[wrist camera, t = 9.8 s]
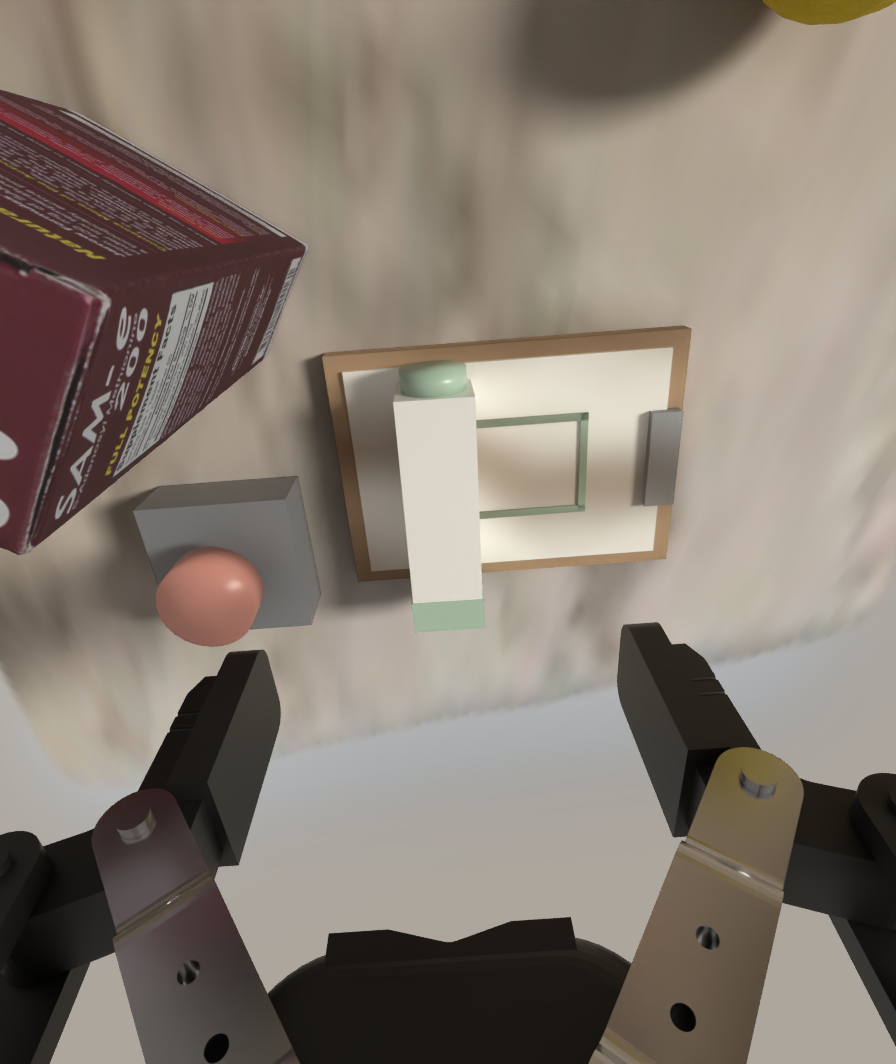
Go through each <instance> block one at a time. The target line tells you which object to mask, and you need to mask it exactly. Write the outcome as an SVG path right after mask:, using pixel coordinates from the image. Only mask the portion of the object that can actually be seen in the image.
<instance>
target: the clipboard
mask: <svg viewBox="0 0 896 1064" xmlns="http://www.w3.org/2000/svg"><path fill="white" fill-rule="evenodd" d="M691 330H692V329H691V328H689V327H686V326H672V327H659V328H646V329H633V330H620V331H606V332H593V333H580V334H567V335H554V336H541V337H528V338H515V339H502V340H488V341H475V342H462V343H449V344H436V345H423V346H410V347H397V348H383V349H370V350H357V351H344V352H331V353H325V354H324V355H323V356H322V360H323V366H324V373H325V379H326V385H327V391H328V397H329V404H330V410H331V416H332V422H333V428H334V435H335V441H336V447H337V453H338V459H339V466H340V472H341V478H342V484H343V490H344V497H345V503H346V509H347V515H348V521H349V528H350V534H351V540H352V546H353V552H354V559H355V565H356V571H357V577H358V582H360V581H373V580H387V579H401V578H411V577H410V567H409V557H408V546H407V536H406V526H405V516H404V506H403V496H402V486H401V476H400V466H399V456H398V446H397V436H396V426H395V416H394V406H393V400H394V395H395V391H396V386H397V383H400V378H399V368H400V367H402V366H404V365H407V364H411V363H416V362H422V361H433V360H451V361H459V362H463V363H465V364H466V374H467V379H470V380H471V383H472V387H473V390H474V394H475V403H476V431H477V459H478V486H479V514H480V542H481V569H482V572H495V571H509V570H522V569H536V568H550V567H563V566H577V565H590V564H604V563H617V562H631V561H644V560H658V559H666V553H667V544H668V535H669V526H670V518H671V509H672V504H673V501H674V492H675V483H676V474H677V465H678V456H679V448H680V439H681V430H682V421H683V412H684V411H682V410H683V401H684V392H685V383H686V374H687V365H688V356H689V348H690V339H691Z"/></svg>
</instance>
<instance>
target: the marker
mask: <svg viewBox="0 0 896 1064" xmlns="http://www.w3.org/2000/svg"><path fill="white" fill-rule="evenodd" d="M399 378H400V383H397V386H396V391H395V395H394V400H393V406H394V416H395V426H396V436H397V446H398V456H399V466H400V476H401V486H402V496H403V506H404V516H405V526H406V536H407V546H408V557H409V567H410V577H411V587H412V610H413V620H414V630H415V632H431V631H447V630H463V629H478V628H485V616H484V597H483V590H482V569H481V542H480V514H479V486H478V459H477V431H476V403H475V394H474V390H473V387H472V383H471V380H470V379H467V374H466V364H465V363H463V362H459V361H451V360H433V361H422V362H416V363H411V364H407V365H404V366H402V367H400V368H399Z"/></svg>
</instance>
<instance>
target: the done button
mask: <svg viewBox="0 0 896 1064" xmlns="http://www.w3.org/2000/svg"><path fill="white" fill-rule="evenodd" d="M263 596H264V586H263V581H262V578H261V576H260V574H259V572H258V571H257V569H256V568H255V567H254V566H253V564H252V563H250V562H249V561H248V560H247V559H246V558H244V557H243V556H241V555H240V554H238V553H236V552H234V551H232V550H229V549H225V548H221V547H213V546H212V547H200V548H196V549H193V550H191V551H189V552H187V553H185V554H184V555H183V556H181V557H180V558H179V559H178V561H177V562H176V563H175V564H174V566H173V567H172V568H171V570H170V571H169V572H168V574H167V575H166V576H165V577H164V579H163V580H162V581H161V583H160V585H159V586H158V589H157V592H156V597H155V603H156V608H157V612H158V614H159V616H160V618H161V620H162V621H163V623H164V624H165V625H166V626H167V627H168V628H169V630H170V631H172V632H173V633H174V634H175V635H177V636H179V637H180V638H182V639H184V640H186V641H188V642H191V643H194V644H197V645H202V646H210V647H213V646H224V645H228V644H231V643H233V642H235V641H237V640H239V639H240V638H242V637H243V636H244V635H245V634H246V633H247V632H248V630H249V629H250V627H251V625H252V623H253V621H254V619H255V616H256V614H257V612H258V610H259V608H260V605H261V603H262V600H263Z"/></svg>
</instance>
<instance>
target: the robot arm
mask: <svg viewBox="0 0 896 1064" xmlns="http://www.w3.org/2000/svg"><path fill="white" fill-rule="evenodd" d="M617 685H618V694H619V698H620V702H621V705H622V708H623V711H624V713H625V716H626V718H627V721H628V723H629V726H630V729H631V731H632V734H633V736H634V739H635V741H636V744H637V747H638V749H639V752H640V754H641V757H642V759H643V762H644V764H645V767H646V769H647V772H648V775H649V777H650V780H651V782H652V785H653V787H654V790H655V792H656V795H657V797H658V800H659V802H660V805H661V808H662V810H663V813H664V815H665V817H666V820H667V823H668V825H669V828H670V831H671V833H672V836H673V837H685V836H687V838H686V840H685V842H684V841H681V843H680V844H679V846H678V848H677V851H676V853H675V855H674V858H673V861H672V863H671V866H670V868H669V871H668V873H667V876H666V878H665V881H664V883H663V886H662V888H661V891H660V893H659V896H658V898H657V901H656V904H655V906H654V908H653V911H652V914H651V916H650V919H649V921H648V924H647V926H646V929H645V931H644V934H643V936H642V939H641V941H640V944H639V946H638V949H637V951H636V954H635V957H634V959H633V961H632V964H631V963H630V962H629V961H627V960H626V959H624V958H622V957H621V956H619V955H618V954H616V953H615V952H612V951H611V950H609V949H607V948H605V947H603V946H601V945H598V944H595V943H592V942H590V941H587V940H583V939H579V938H575V936H574V931H573V926H572V921H571V917H566V918H553V919H538V920H522V921H510V922H508V923H505V924H502V925H499V926H497V927H494V928H491V929H488V930H486V931H483V932H480V933H477V934H475V935H472V936H469V937H466V938H463V939H460V940H458V941H454V942H442V941H438V940H433V939H429V938H424V937H420V936H415V935H410V934H406V933H401V932H397V931H392V930H374V931H360V932H345V933H331V934H329V937H328V944H327V951H326V955H325V956H322V957H319V958H317V959H315V960H313V961H311V962H309V963H307V964H305V965H303V966H301V967H300V968H298V969H297V970H296V971H294V972H292V973H291V974H289V975H288V976H287V977H286V978H284V979H283V980H282V981H281V982H280V983H278V984H277V985H276V986H275V987H274V988H273V989H272V990H271V991H270V992H269V993H268V994H267V992H266V990H265V988H264V986H263V983H262V981H261V979H260V977H259V975H258V973H257V971H256V969H255V966H254V964H253V962H252V960H251V958H250V956H249V953H248V951H247V949H246V947H245V945H244V943H243V940H242V938H241V936H240V934H239V932H238V930H237V928H236V925H235V923H234V921H233V919H232V917H231V915H230V913H229V910H228V908H227V906H226V904H225V902H224V900H223V898H222V895H221V894H220V891H219V889H218V887H217V885H216V883H215V881H214V879H215V875H216V872H217V870H218V867H221V866H235V865H239V862H240V858H241V855H242V852H243V848H244V845H245V842H246V838H247V835H248V831H249V828H250V825H251V821H252V818H253V815H254V811H255V808H256V804H257V801H258V798H259V794H260V791H261V788H262V784H263V781H264V777H265V774H266V771H267V767H268V764H269V761H270V757H271V754H272V751H273V747H274V744H275V740H276V737H277V734H278V730H279V726H280V717H281V710H280V701H279V697H278V693H277V689H276V686H275V682H274V678H273V675H272V671H271V667H270V663H269V660H268V656H267V654H266V652H265V651H264V650H250V651H237V652H229V653H228V654H227V655H226V657H225V659H224V661H223V664H222V666H221V668H220V670H219V672H218V674H217V676H209V677H204V678H203V679H202V680H201V681H200V682H199V683H198V684H197V685H196V686H195V687H194V688H193V689H192V690H191V691H190V692H189V693H188V694H187V696H186V698H185V700H184V702H183V704H182V706H181V708H180V710H179V712H178V717H175V719H174V721H173V723H172V725H171V727H170V733H167V735H166V737H165V739H164V741H163V743H162V745H161V747H160V749H159V751H158V753H157V755H156V757H155V759H154V761H153V762H152V764H151V766H150V768H149V770H148V772H147V774H146V776H145V778H144V780H143V782H142V784H141V786H140V788H139V790H138V791H137V792H135V793H132V794H130V795H128V796H126V797H124V798H123V799H121V800H120V801H118V802H117V803H115V804H114V805H112V806H111V807H110V808H109V809H108V810H107V811H106V812H105V813H104V814H103V816H102V817H101V818H100V819H99V821H98V823H97V824H96V826H95V828H94V829H92V830H90V831H87V832H85V833H82V834H78V835H75V836H73V837H70V838H67V839H64V840H61V841H58V842H55V843H52V844H49V845H46V846H42V845H41V843H40V841H39V840H38V838H37V837H36V836H35V835H34V834H32V833H30V832H26V831H15V832H9V833H6V834H2V835H0V1064H50V1061H51V1059H52V1056H53V1054H54V1051H55V1049H56V1046H57V1044H58V1042H59V1039H60V1037H61V1034H62V1032H63V1029H64V1027H65V1024H66V1022H67V1019H68V1017H69V1014H70V1012H71V1009H72V1007H73V1004H74V1002H75V999H76V997H77V994H78V992H79V989H80V987H81V984H82V982H83V980H84V977H85V974H86V972H87V970H88V967H89V965H90V962H92V961H94V960H97V959H99V958H102V957H104V956H107V955H109V954H112V953H114V952H115V953H116V957H117V961H118V964H119V968H120V971H121V975H122V979H123V982H124V986H125V990H126V993H127V997H128V1000H129V1004H130V1008H131V1011H132V1015H133V1019H134V1022H135V1026H136V1030H137V1033H138V1037H139V1040H140V1044H141V1048H142V1052H143V1055H144V1058H145V1062H146V1064H746V1063H747V1059H748V1054H749V1050H750V1045H751V1041H752V1036H753V1032H754V1027H755V1023H756V1018H757V1014H758V1009H759V1005H760V1000H761V995H762V991H763V987H764V982H765V978H766V973H767V969H768V964H769V960H770V955H771V950H772V946H773V942H774V937H775V933H776V928H777V923H778V919H779V914H780V910H781V906H782V903H785V904H789V905H793V906H797V907H801V908H805V909H809V910H813V911H817V912H821V913H825V914H828V915H829V917H830V919H831V920H832V923H833V925H834V926H835V928H836V930H837V932H838V934H839V936H840V938H841V940H842V942H843V944H844V946H845V948H846V950H847V952H848V954H849V956H850V958H851V960H852V962H853V963H854V966H855V968H856V970H857V972H858V973H859V975H860V977H861V979H862V981H863V983H864V985H865V987H866V989H867V991H868V993H869V995H870V997H871V999H872V1001H873V1003H874V1005H875V1007H876V1009H877V1011H878V1012H879V1015H880V1016H881V1018H882V1020H883V1022H884V1024H885V1026H886V1028H887V1030H888V1032H889V1034H890V1036H891V1038H892V1040H893V1042H894V1044H895V1046H896V774H890V773H877V774H873V775H869V776H867V777H865V778H864V779H863V780H862V781H861V782H860V784H859V786H858V789H857V791H854V790H849V789H844V788H838V787H833V786H828V785H823V784H818V783H814V782H810V781H806V780H803V779H801V778H799V777H798V775H797V774H796V772H795V771H794V770H793V769H792V768H791V767H790V766H789V765H788V764H787V763H785V762H784V761H783V760H781V759H780V758H778V757H776V756H775V755H773V754H770V753H768V752H766V751H763V750H761V748H760V747H759V745H758V744H757V742H756V740H755V739H754V737H753V736H752V734H751V732H750V731H749V729H748V728H747V726H746V724H745V723H744V721H743V720H742V718H741V716H740V715H739V713H738V712H737V710H736V708H735V707H734V706H733V704H732V702H731V700H730V699H729V697H728V696H727V695H725V693H724V689H723V688H722V686H721V684H720V683H719V681H718V680H716V678H715V675H714V673H713V672H712V670H711V668H710V667H709V665H708V663H707V662H706V660H705V659H704V658H703V657H702V656H701V655H699V654H698V653H697V652H695V651H694V650H693V649H692V648H690V647H689V646H688V645H686V644H671V643H670V641H669V639H668V637H667V635H666V634H665V632H664V630H663V628H662V627H661V625H660V624H659V623H657V622H655V623H641V624H627V625H623V627H622V630H621V639H620V651H619V663H618V675H617Z"/></svg>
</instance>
